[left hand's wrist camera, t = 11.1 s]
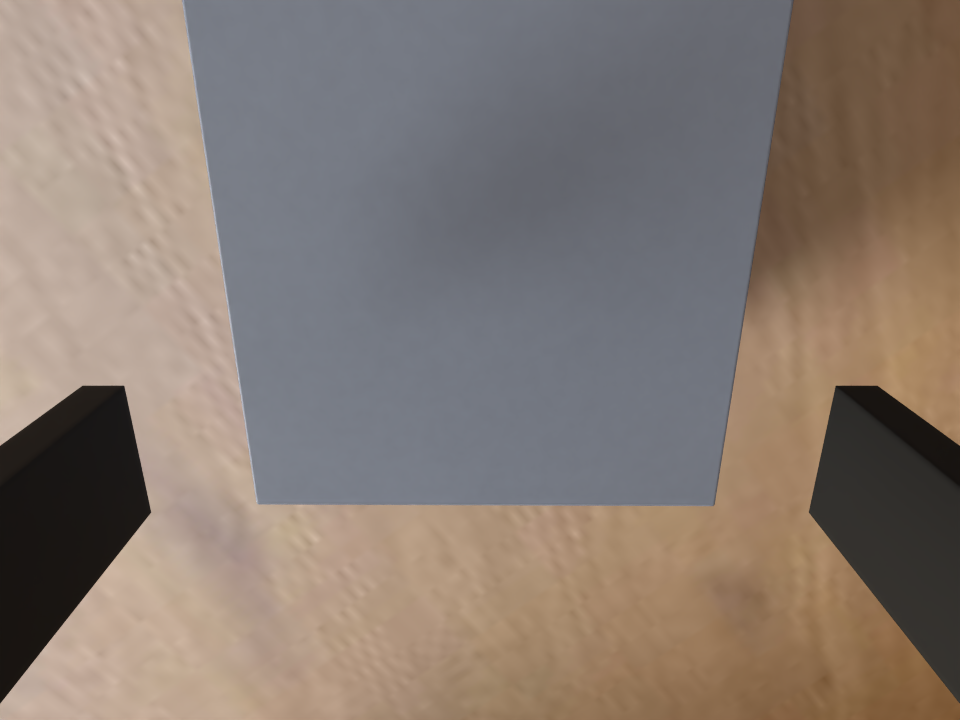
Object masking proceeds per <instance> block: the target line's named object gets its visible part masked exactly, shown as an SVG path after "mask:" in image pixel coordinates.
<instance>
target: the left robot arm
mask: <svg viewBox="0 0 960 720" xmlns="http://www.w3.org/2000/svg"><path fill="white" fill-rule="evenodd" d="M150 513H151V510H150V505H149V500H148V496H147V491H146V486H145V481H144V477H143V472H142V467H141V463H140V458H139V453H138V449H137V444H136V439H135V434H134V430H133V425H132V420H131V416H130V411H129V406H128V402H127V397H126V392H125V387H124V386H82V387H80V388H79V389H78V390H76V391H75V392H73V393H72V394H71V395H69V396H68V397H67V398H65V399H64V400H62V401H61V402H60V403H58V404H57V405H56V406H54V407H53V408H52V409H50V410H49V411H47V412H46V413H45V414H43V415H42V416H41V417H39V418H38V419H36V420H35V421H34V422H32V423H31V424H30V425H28V426H27V427H25V428H24V429H23V430H21V431H20V432H19V433H17V434H16V435H15V436H13V437H12V438H10V439H9V440H8V441H6V442H5V443H4V444H2V445H1V446H0V703H1V702H2V701H3V699H4V698H5V697H6V695H7V694H8V693H9V692H10V690H11V689H12V688H13V687H14V685H15V684H16V683H17V682H18V680H19V679H20V678H21V676H22V675H23V674H24V673H25V671H26V670H27V669H28V668H29V666H30V665H31V664H32V663H33V661H34V660H35V659H36V658H37V656H38V655H39V654H40V652H41V651H42V650H43V649H44V647H45V646H46V645H47V644H48V642H49V641H50V640H51V639H52V637H53V636H54V635H55V633H56V632H57V631H58V630H59V628H60V627H61V626H62V625H63V623H64V622H65V621H66V620H67V618H68V617H69V616H70V614H71V613H72V612H73V611H74V609H75V608H76V607H77V606H78V604H79V603H80V602H81V601H82V599H83V598H84V597H85V595H86V594H87V593H88V592H89V590H90V589H91V588H92V587H93V585H94V584H95V583H96V582H97V580H98V579H99V578H100V576H101V575H102V574H103V573H104V571H105V570H106V569H107V568H108V566H109V565H110V564H111V563H112V561H113V560H114V559H115V557H116V556H117V555H118V554H119V552H120V551H121V550H122V549H123V547H124V546H125V545H126V544H127V542H128V541H129V540H130V538H131V537H132V536H133V535H134V533H135V532H136V531H137V530H138V528H139V527H140V526H141V525H142V523H143V522H144V521H145V519H146V518H147V517H148V516H149V514H150ZM809 513H810V514H811V516H812V517H813V518H814V519H815V521H816V522H817V523H818V525H819V526H820V527H821V528H822V530H823V531H824V532H825V533H826V535H827V536H828V537H829V538H830V540H831V541H832V542H833V544H834V545H835V546H836V547H837V549H838V550H839V551H840V552H841V554H842V555H843V556H844V557H845V559H846V560H847V561H848V563H849V564H850V565H851V566H852V568H853V569H854V570H855V571H856V573H857V574H858V575H859V576H860V578H861V579H862V580H863V582H864V583H865V584H866V585H867V587H868V588H869V589H870V590H871V592H872V593H873V594H874V595H875V597H876V598H877V599H878V601H879V602H880V603H881V604H882V606H883V607H884V608H885V609H886V611H887V612H888V613H889V614H890V616H891V617H892V618H893V620H894V621H895V622H896V623H897V625H898V626H899V627H900V628H901V630H902V631H903V632H904V633H905V635H906V636H907V637H908V639H909V640H910V641H911V642H912V644H913V645H914V646H915V647H916V649H917V650H918V651H919V652H920V654H921V655H922V656H923V658H924V659H925V660H926V661H927V663H928V664H929V665H930V666H931V668H932V669H933V670H934V671H935V673H936V674H937V675H938V677H939V678H940V679H941V680H942V682H943V683H944V684H945V685H946V687H947V688H948V689H949V690H950V692H951V693H952V694H953V695H954V697H955V698H956V699H957V701H958V702H959V703H960V446H959V445H958V444H956V443H955V442H954V441H952V440H951V439H950V438H948V437H947V436H945V435H944V434H943V433H941V432H940V431H939V430H937V429H936V428H935V427H933V426H932V425H930V424H929V423H928V422H926V421H925V420H924V419H922V418H921V417H919V416H918V415H917V414H915V413H914V412H913V411H911V410H910V409H908V408H907V407H906V406H904V405H903V404H902V403H900V402H899V401H898V400H896V399H895V398H893V397H892V396H891V395H889V394H888V393H887V392H885V391H884V390H882V389H881V388H880V387H878V386H836V387H835V392H834V397H833V402H832V406H831V411H830V416H829V420H828V425H827V430H826V434H825V439H824V444H823V449H822V453H821V458H820V463H819V467H818V472H817V477H816V481H815V486H814V491H813V496H812V500H811V505H810V510H809Z"/></svg>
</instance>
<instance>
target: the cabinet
mask: <svg viewBox="0 0 960 720" xmlns="http://www.w3.org/2000/svg"><path fill="white" fill-rule="evenodd" d="M793 1H794V0H182V2H183V9H184V16H185V22H186V29H187V36H188V42H189V49H190V56H191V63H192V69H193V76H194V83H195V90H196V96H197V103H198V110H199V117H200V123H201V130H202V137H203V144H204V150H205V157H206V164H207V171H208V177H209V184H210V191H211V198H212V204H213V211H214V218H215V225H216V231H217V238H218V245H219V252H220V258H221V265H222V272H223V279H224V285H225V292H226V299H227V306H228V312H229V319H230V326H231V333H232V339H233V346H234V353H235V360H236V366H237V373H238V380H239V386H240V393H241V400H242V407H243V413H244V420H245V427H246V434H247V440H248V447H249V454H250V461H251V467H252V474H253V481H254V488H255V494H256V501H257V504H307V505H577V506H714V504H715V498H716V492H717V486H718V479H719V473H720V466H721V460H722V454H723V447H724V441H725V435H726V428H727V422H728V415H729V409H730V403H731V396H732V390H733V383H734V377H735V371H736V364H737V358H738V352H739V345H740V339H741V332H742V326H743V320H744V313H745V307H746V301H747V294H748V288H749V281H750V275H751V269H752V262H753V256H754V249H755V243H756V237H757V230H758V224H759V218H760V211H761V205H762V198H763V192H764V186H765V179H766V173H767V167H768V160H769V154H770V147H771V141H772V135H773V128H774V122H775V115H776V109H777V103H778V96H779V90H780V84H781V77H782V71H783V64H784V58H785V52H786V45H787V39H788V33H789V26H790V20H791V13H792V7H793Z"/></svg>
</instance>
